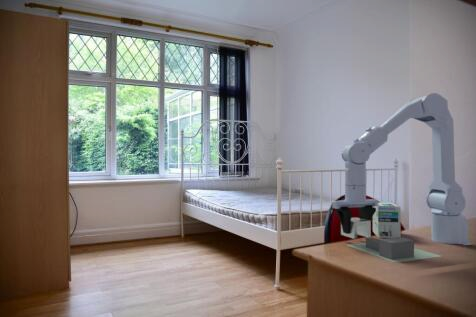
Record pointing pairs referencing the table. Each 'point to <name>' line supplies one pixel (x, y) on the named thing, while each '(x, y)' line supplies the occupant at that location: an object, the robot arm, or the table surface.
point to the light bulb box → (387, 220)
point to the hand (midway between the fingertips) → (355, 232)
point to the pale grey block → (358, 228)
